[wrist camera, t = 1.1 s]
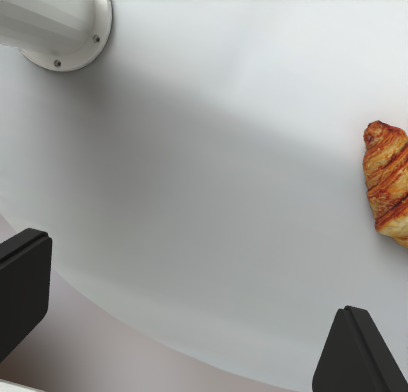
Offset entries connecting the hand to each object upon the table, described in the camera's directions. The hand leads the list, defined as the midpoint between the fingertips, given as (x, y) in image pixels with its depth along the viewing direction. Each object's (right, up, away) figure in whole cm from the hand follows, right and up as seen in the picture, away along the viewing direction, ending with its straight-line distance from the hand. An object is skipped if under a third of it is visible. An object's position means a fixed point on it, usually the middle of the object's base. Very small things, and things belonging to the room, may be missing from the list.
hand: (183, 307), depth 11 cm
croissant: (+24, +3, +28) cm, 38 cm away
